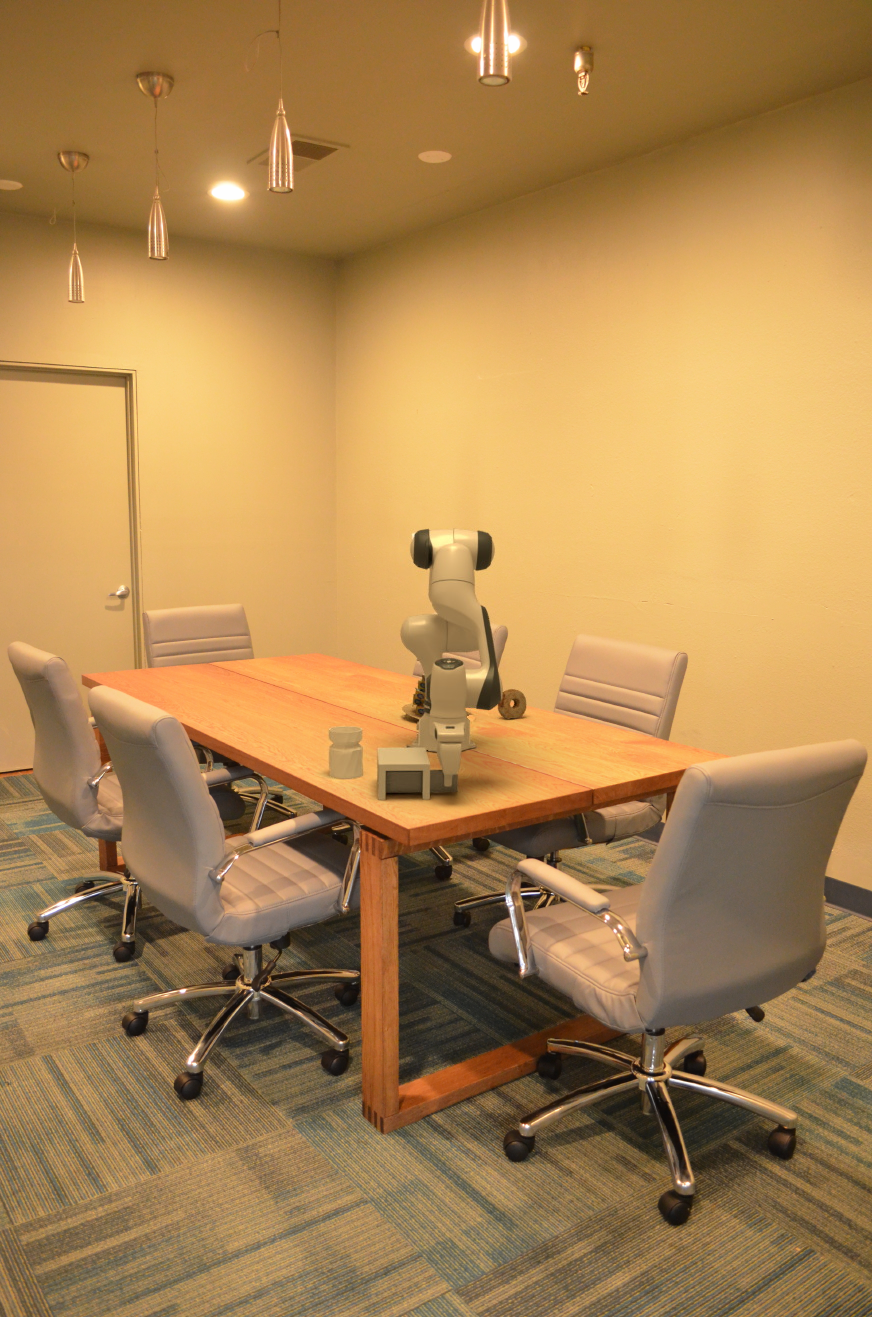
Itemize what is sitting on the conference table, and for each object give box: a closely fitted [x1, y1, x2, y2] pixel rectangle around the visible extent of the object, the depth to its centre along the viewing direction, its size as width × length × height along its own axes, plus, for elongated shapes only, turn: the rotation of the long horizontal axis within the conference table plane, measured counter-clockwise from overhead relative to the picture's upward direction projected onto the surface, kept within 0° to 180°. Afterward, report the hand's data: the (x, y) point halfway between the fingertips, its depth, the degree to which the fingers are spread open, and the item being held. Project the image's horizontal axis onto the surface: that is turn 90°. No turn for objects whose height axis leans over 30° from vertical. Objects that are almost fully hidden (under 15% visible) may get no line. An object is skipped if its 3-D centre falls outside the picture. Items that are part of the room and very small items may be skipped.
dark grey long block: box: [385, 769, 459, 794], centre depth 239 cm, size 6×18×5 cm, turn 94°
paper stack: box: [401, 673, 474, 720], centre depth 332 cm, size 25×25×17 cm
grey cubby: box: [376, 747, 431, 801], centre depth 240 cm, size 18×12×8 cm, turn 4°
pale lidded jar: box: [328, 725, 364, 780], centre depth 254 cm, size 9×9×12 cm
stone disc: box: [497, 688, 527, 719], centre depth 334 cm, size 10×4×10 cm, turn 116°
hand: (447, 783), depth 237 cm, fingers closed on dark grey long block
